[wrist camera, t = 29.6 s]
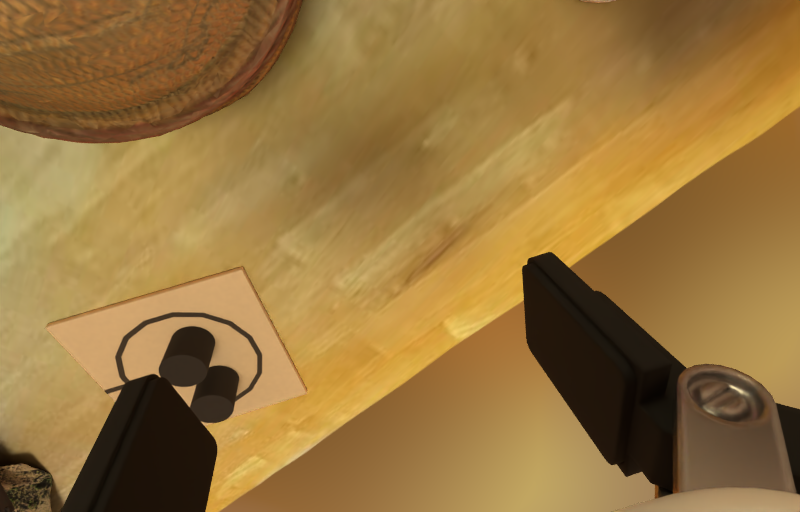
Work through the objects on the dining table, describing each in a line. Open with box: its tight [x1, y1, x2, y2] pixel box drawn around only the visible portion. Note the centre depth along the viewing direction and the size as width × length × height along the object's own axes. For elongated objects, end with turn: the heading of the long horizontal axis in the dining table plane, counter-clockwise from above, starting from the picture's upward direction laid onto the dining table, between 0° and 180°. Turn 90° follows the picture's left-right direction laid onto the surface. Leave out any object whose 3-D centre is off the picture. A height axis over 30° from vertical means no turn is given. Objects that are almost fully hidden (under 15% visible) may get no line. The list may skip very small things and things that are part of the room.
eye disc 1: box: [159, 326, 215, 387], centre depth 38 cm, size 4×4×4 cm
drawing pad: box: [45, 267, 307, 426], centre depth 41 cm, size 18×18×1 cm
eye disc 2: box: [190, 365, 239, 423], centre depth 41 cm, size 4×4×4 cm
